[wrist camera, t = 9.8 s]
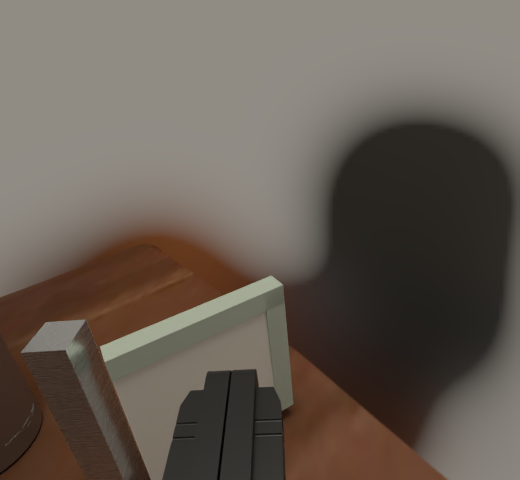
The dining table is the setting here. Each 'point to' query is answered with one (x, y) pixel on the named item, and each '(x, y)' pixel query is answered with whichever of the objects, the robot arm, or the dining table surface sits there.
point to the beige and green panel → (197, 360)
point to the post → (83, 400)
